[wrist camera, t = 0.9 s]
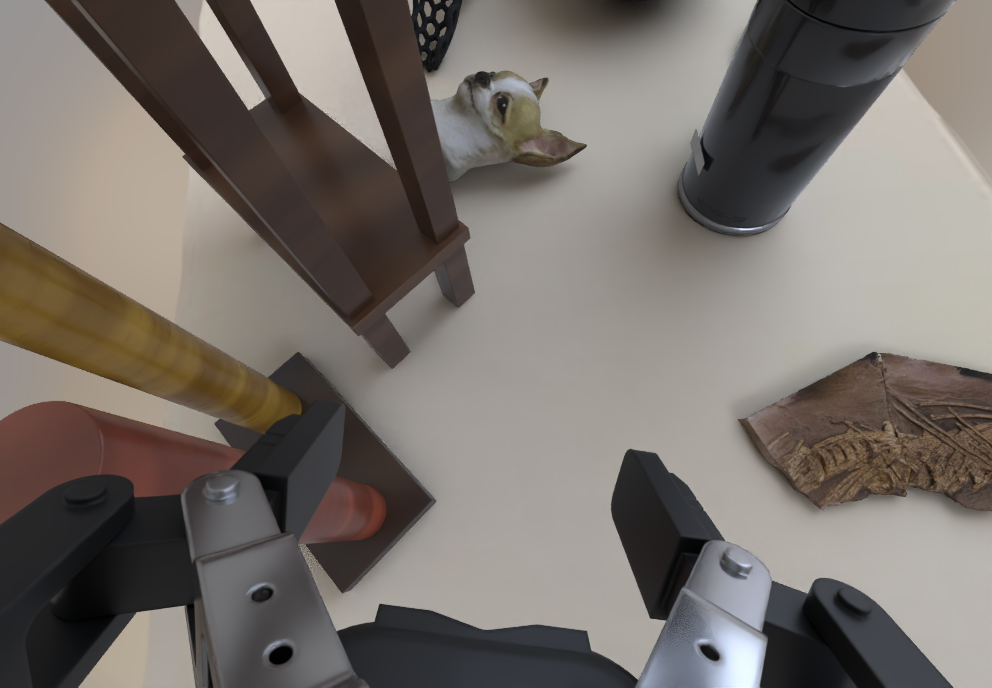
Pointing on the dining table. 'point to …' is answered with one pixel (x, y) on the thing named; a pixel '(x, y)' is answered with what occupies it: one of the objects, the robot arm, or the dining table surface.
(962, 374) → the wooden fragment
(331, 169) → the stand
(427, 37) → the decorative element
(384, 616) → the robot arm
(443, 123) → the ceramic sculpture
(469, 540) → the dining table surface
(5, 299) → the rods
